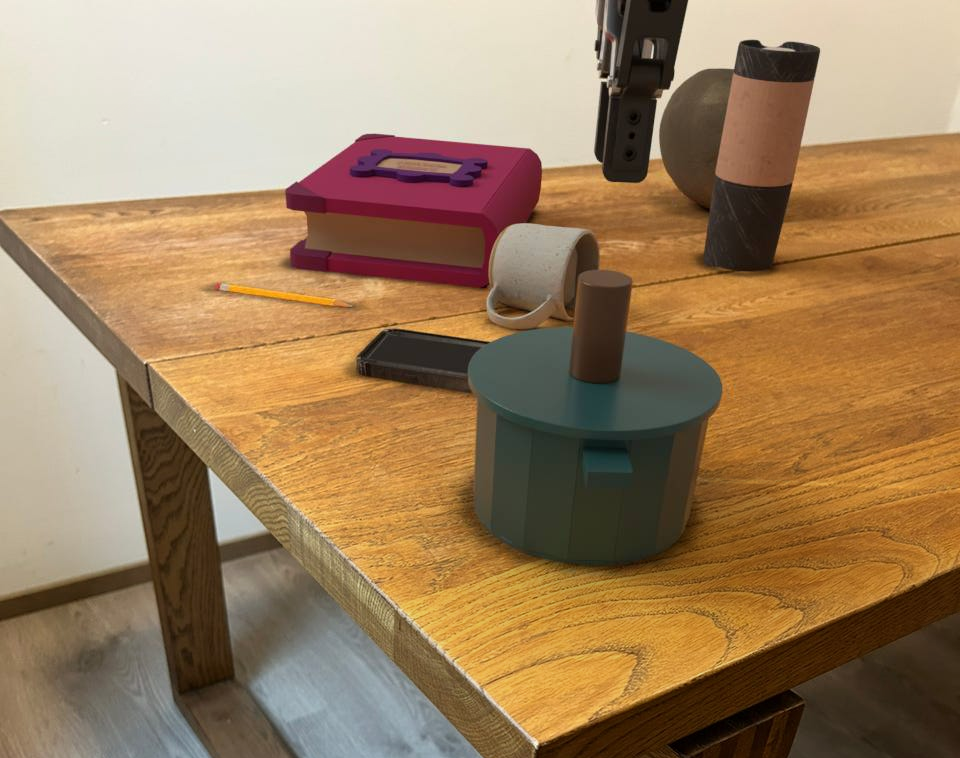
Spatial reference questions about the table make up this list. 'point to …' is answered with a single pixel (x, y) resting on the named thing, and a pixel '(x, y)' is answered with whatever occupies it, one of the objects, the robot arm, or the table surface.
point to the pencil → (280, 295)
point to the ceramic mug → (538, 271)
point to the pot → (583, 491)
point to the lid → (595, 373)
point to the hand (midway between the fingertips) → (618, 169)
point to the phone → (419, 358)
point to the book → (413, 208)
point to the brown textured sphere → (695, 132)
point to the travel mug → (759, 153)
